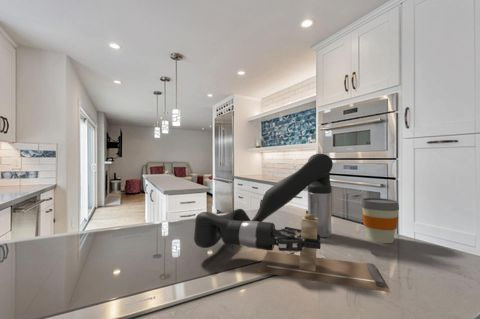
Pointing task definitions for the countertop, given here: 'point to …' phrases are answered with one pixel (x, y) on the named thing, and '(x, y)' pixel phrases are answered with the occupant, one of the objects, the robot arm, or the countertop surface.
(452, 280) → the countertop surface
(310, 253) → the wooden pepper mill
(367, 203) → the reusable coffee cup
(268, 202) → the robot arm
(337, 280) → the walnut board
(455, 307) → the countertop surface
